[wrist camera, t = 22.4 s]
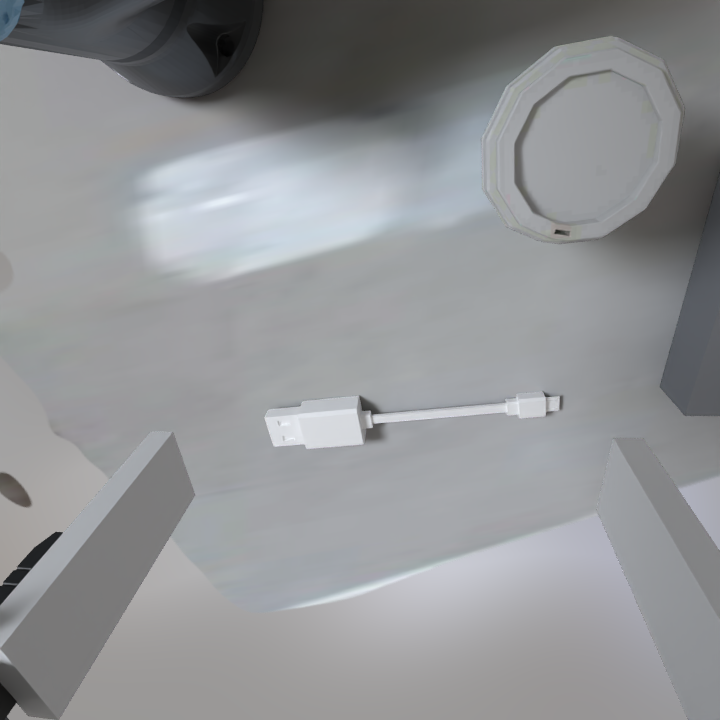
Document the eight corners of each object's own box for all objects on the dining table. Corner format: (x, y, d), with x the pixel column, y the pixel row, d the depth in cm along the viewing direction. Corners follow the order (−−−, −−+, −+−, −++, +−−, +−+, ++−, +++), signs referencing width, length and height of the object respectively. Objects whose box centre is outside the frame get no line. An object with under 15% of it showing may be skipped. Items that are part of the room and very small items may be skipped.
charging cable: (553, 413, 50) (562, 431, 47) (279, 436, 55) (272, 454, 52) (554, 374, 47) (564, 391, 45) (269, 402, 53) (261, 419, 50)
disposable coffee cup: (479, 53, 34) (514, 14, 21) (622, 70, 33) (749, 41, 20) (450, 197, 39) (463, 238, 26) (573, 214, 39) (649, 264, 26)
